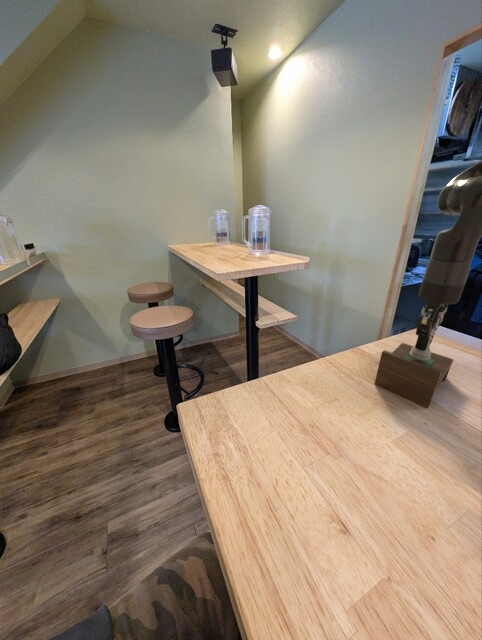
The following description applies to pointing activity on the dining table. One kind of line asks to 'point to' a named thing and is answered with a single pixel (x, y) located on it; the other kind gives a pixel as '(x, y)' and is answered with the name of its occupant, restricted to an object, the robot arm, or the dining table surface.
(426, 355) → the rook chess piece
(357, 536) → the dining table surface
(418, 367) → the wooden stand
